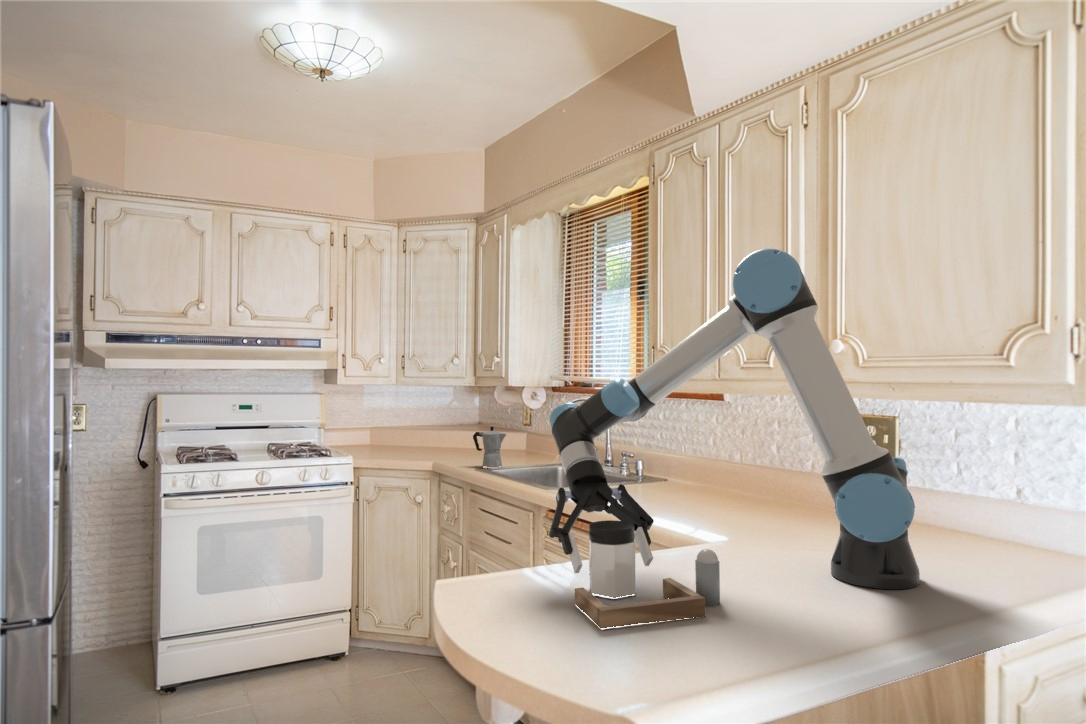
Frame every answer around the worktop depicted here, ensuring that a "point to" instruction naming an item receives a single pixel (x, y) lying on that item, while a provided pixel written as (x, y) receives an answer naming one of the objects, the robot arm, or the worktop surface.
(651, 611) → the dock
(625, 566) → the jar
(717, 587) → the shaker
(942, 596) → the worktop surface
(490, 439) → the coffeepot
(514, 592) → the worktop surface
